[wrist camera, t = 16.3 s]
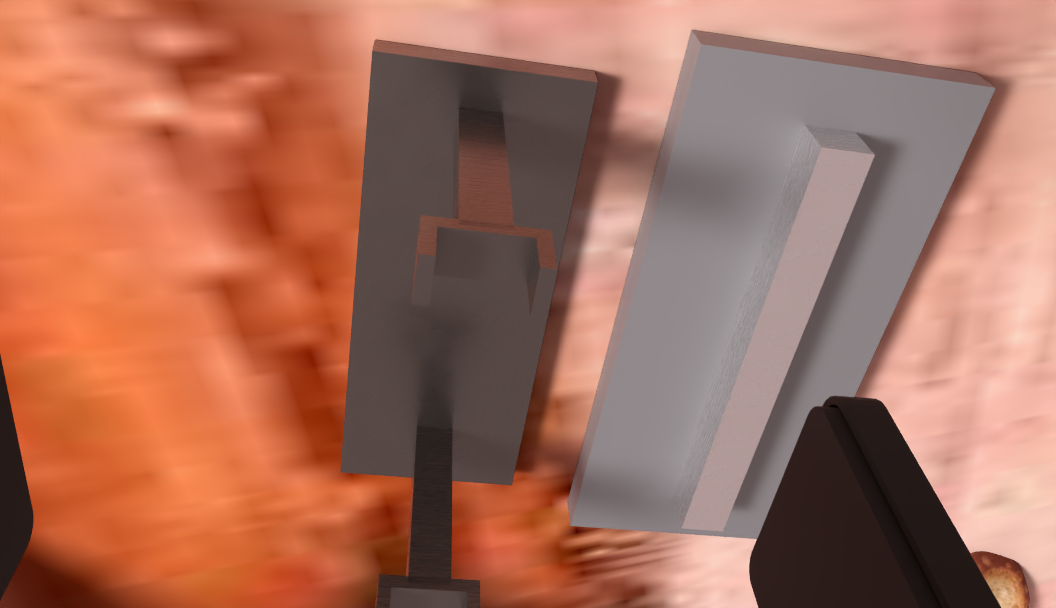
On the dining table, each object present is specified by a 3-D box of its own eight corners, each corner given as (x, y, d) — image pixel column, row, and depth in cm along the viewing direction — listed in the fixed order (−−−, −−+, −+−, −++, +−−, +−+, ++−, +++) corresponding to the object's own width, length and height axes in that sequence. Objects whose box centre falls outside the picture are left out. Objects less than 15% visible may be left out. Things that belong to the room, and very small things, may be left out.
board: (975, 72, 44) (995, 88, 42) (779, 517, 60) (788, 541, 59) (691, 29, 42) (701, 44, 40) (567, 501, 58) (570, 525, 57)
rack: (594, 70, 43) (647, 227, 31) (510, 467, 56) (524, 685, 44) (375, 39, 41) (339, 190, 29) (343, 454, 55) (309, 675, 43)
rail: (855, 131, 43) (875, 154, 41) (713, 500, 56) (722, 531, 54) (804, 124, 43) (821, 147, 41) (673, 496, 56) (681, 528, 54)
